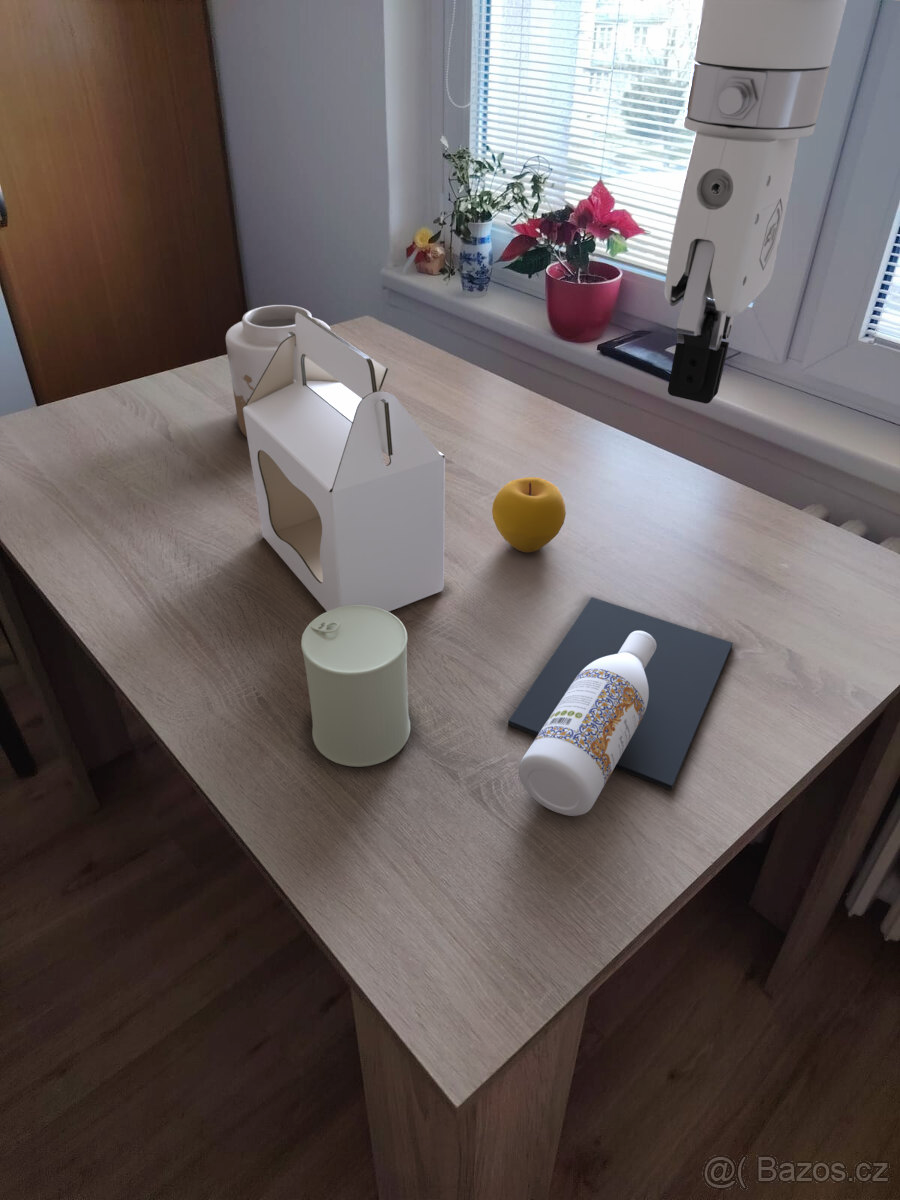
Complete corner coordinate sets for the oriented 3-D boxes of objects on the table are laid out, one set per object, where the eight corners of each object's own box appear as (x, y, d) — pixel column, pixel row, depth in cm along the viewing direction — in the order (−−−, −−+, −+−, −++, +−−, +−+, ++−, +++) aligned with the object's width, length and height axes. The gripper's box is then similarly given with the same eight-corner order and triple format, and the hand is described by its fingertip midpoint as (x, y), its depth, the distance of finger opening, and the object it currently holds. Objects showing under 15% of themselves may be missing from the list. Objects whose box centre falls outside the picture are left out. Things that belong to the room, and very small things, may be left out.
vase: (288, 394, 136) (277, 291, 126) (359, 419, 130) (352, 312, 119) (218, 427, 127) (199, 319, 116) (290, 456, 120) (276, 344, 109)
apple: (515, 517, 108) (519, 456, 102) (575, 540, 104) (583, 477, 98) (476, 549, 102) (479, 485, 96) (539, 574, 98) (545, 510, 92)
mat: (671, 790, 73) (672, 786, 73) (507, 724, 79) (508, 720, 78) (731, 646, 88) (733, 642, 88) (591, 600, 94) (591, 596, 94)
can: (341, 685, 83) (332, 590, 75) (426, 711, 80) (425, 615, 73) (294, 749, 76) (278, 652, 69) (384, 780, 73) (378, 682, 66)
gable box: (445, 592, 95) (448, 357, 78) (343, 632, 89) (321, 387, 72) (354, 505, 109) (339, 291, 92) (261, 535, 104) (226, 312, 86)
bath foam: (585, 772, 65) (675, 620, 77) (509, 749, 68) (606, 607, 81) (595, 829, 69) (679, 675, 81) (523, 804, 72) (613, 661, 85)
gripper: (788, 124, 42) (712, 450, 53) (843, 92, 52) (769, 371, 63) (647, 110, 45) (603, 422, 56) (725, 83, 55) (675, 351, 66)
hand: (691, 395), depth 60 cm, fingers closed
